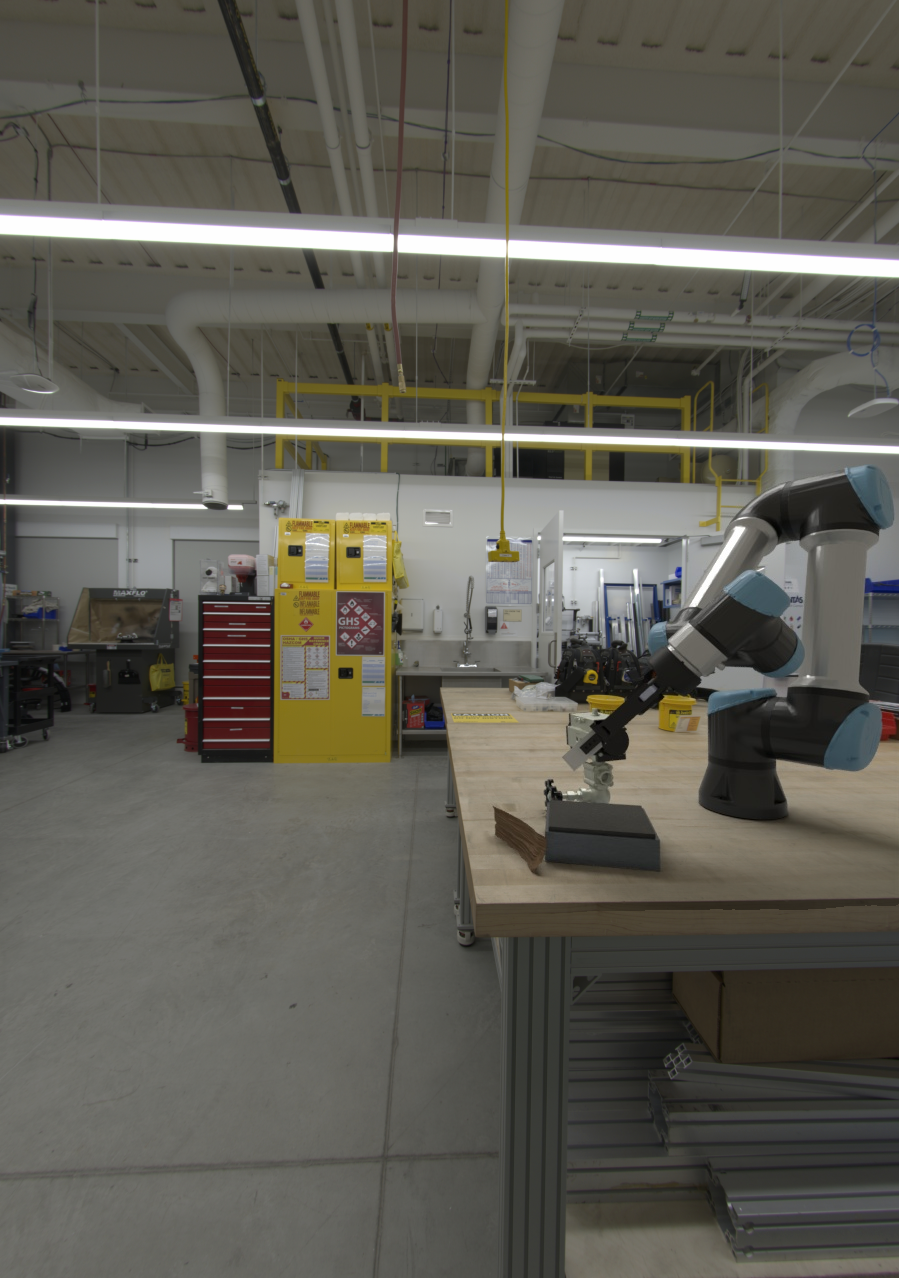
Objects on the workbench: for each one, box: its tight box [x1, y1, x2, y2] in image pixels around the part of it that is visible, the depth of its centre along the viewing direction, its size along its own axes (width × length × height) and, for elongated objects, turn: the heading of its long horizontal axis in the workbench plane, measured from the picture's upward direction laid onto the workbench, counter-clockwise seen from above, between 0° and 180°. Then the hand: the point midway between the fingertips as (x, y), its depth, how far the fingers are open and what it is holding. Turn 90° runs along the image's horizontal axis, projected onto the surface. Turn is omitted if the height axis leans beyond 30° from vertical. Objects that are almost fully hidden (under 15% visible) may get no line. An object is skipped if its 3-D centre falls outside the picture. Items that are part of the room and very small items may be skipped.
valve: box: [543, 778, 611, 808], centre depth 97 cm, size 7×7×12 cm
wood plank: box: [492, 805, 547, 875], centre depth 79 cm, size 15×2×5 cm, turn 22°
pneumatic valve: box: [565, 707, 630, 788], centre depth 80 cm, size 6×12×12 cm, turn 13°
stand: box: [544, 800, 661, 872], centre depth 81 cm, size 16×14×5 cm
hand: (577, 756), depth 82 cm, fingers closed on pneumatic valve, 10 cm apart
